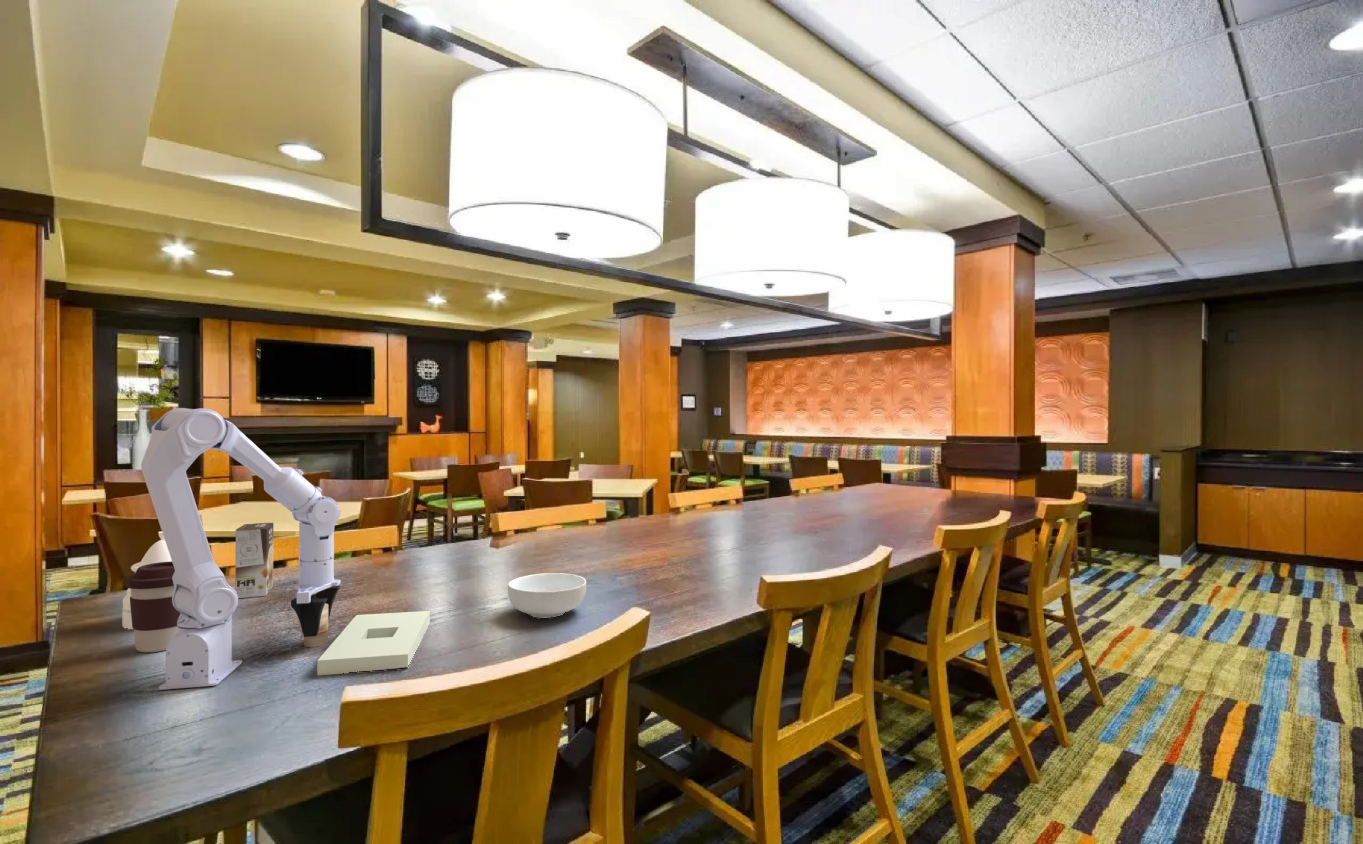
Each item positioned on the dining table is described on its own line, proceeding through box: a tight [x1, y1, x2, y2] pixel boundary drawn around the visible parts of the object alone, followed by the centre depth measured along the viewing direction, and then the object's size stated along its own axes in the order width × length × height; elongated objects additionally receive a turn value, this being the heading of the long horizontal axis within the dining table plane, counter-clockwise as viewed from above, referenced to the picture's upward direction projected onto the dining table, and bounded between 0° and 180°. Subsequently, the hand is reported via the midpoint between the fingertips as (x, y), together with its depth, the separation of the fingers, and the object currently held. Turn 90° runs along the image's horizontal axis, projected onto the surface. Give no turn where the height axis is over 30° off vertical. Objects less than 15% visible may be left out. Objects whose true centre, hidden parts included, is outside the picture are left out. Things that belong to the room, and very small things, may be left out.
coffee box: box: [234, 522, 274, 599], centre depth 151 cm, size 9×6×16 cm
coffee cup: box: [125, 561, 181, 653], centre depth 116 cm, size 10×10×15 cm
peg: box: [303, 603, 329, 648], centre depth 119 cm, size 4×4×7 cm
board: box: [316, 610, 431, 676], centre depth 118 cm, size 24×14×2 cm, turn 13°
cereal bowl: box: [507, 572, 588, 617], centre depth 138 cm, size 17×17×7 cm
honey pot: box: [121, 530, 172, 631], centre depth 131 cm, size 13×13×18 cm
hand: (316, 630), depth 119 cm, fingers open, 5 cm apart
